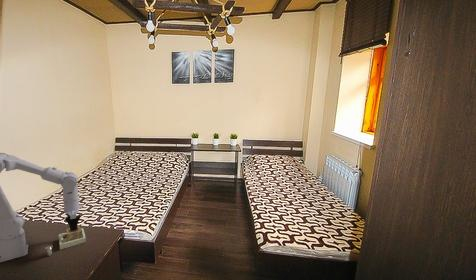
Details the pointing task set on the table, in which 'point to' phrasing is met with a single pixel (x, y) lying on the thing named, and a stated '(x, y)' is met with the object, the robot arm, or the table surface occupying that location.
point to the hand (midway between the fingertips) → (73, 226)
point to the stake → (49, 250)
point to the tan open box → (72, 234)
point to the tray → (66, 244)
